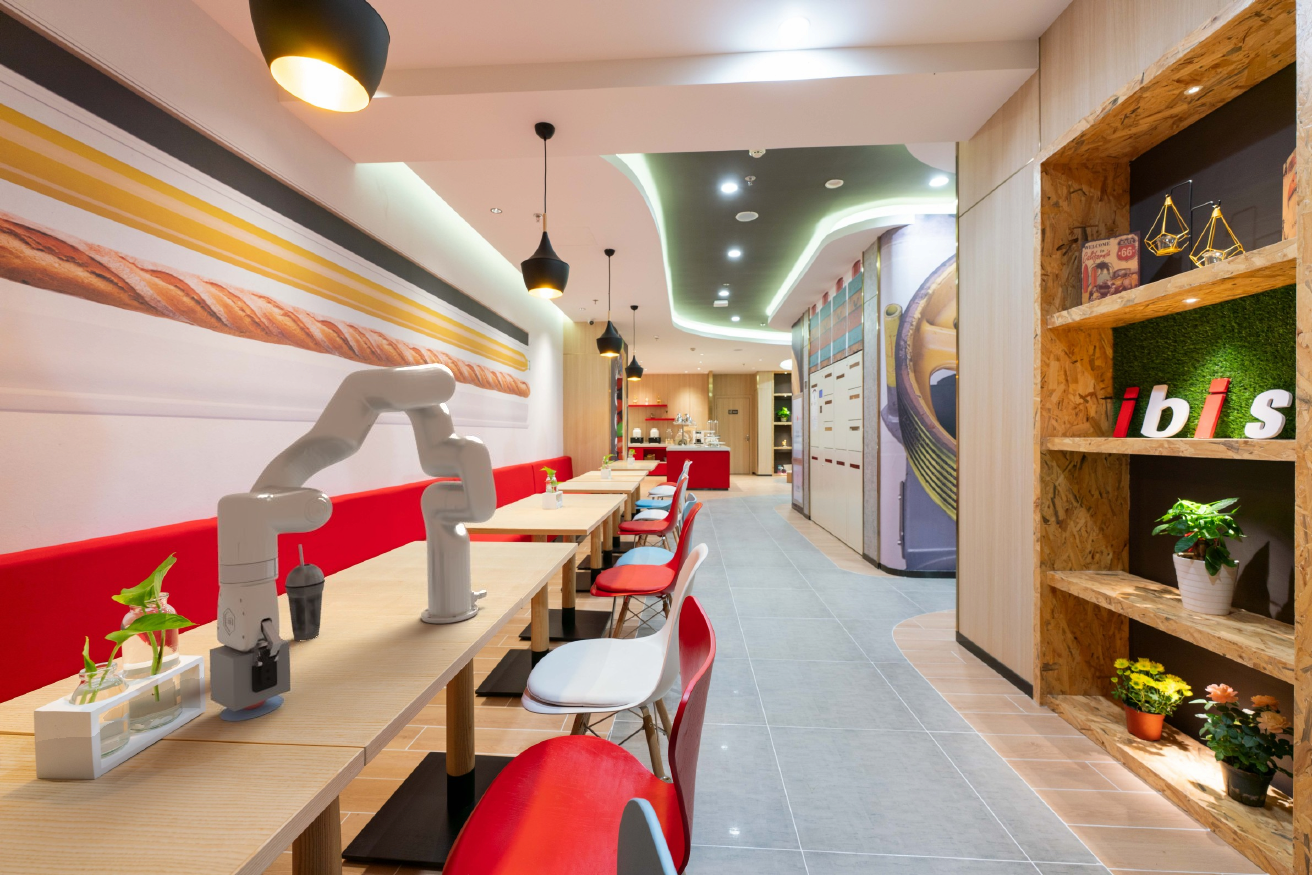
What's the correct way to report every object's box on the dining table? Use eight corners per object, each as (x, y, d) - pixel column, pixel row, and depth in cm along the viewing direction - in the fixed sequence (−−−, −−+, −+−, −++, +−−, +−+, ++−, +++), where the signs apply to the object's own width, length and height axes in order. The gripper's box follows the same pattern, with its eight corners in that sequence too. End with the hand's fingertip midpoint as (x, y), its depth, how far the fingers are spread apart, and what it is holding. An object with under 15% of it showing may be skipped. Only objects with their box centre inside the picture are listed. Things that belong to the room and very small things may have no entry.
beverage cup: (334, 631, 121) (331, 540, 121) (310, 644, 114) (307, 547, 114) (303, 630, 122) (300, 540, 122) (277, 643, 115) (275, 547, 115)
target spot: (268, 691, 93) (268, 690, 93) (293, 702, 89) (293, 701, 89) (210, 713, 86) (210, 711, 86) (235, 726, 82) (235, 724, 82)
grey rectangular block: (266, 680, 92) (265, 633, 92) (290, 690, 88) (289, 641, 88) (210, 699, 86) (209, 649, 86) (234, 711, 82) (233, 658, 82)
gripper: (195, 570, 88) (197, 680, 88) (249, 584, 79) (251, 706, 80) (249, 561, 95) (251, 663, 95) (304, 572, 86) (306, 685, 86)
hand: (251, 682), depth 87 cm, fingers closed on grey rectangular block, 7 cm apart
